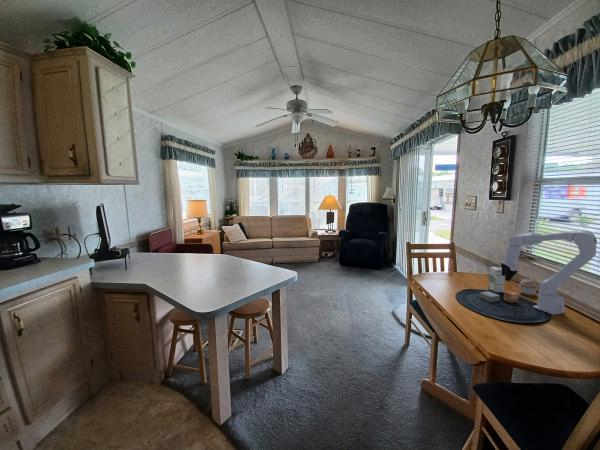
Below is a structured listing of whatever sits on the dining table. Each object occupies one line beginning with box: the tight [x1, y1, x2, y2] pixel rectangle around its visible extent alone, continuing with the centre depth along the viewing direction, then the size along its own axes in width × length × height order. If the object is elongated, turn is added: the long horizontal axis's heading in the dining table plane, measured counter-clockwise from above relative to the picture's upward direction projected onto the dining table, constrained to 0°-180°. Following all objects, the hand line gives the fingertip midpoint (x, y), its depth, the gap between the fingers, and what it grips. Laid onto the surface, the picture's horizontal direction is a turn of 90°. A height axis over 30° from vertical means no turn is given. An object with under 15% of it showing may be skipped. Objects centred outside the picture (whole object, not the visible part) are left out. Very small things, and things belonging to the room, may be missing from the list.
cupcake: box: [517, 277, 539, 296], centre depth 154 cm, size 9×9×10 cm
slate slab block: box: [479, 290, 501, 303], centre depth 147 cm, size 6×6×4 cm
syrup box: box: [488, 266, 506, 293], centre depth 159 cm, size 6×6×14 cm
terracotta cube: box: [503, 290, 519, 304], centre depth 145 cm, size 4×4×5 cm
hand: (505, 278), depth 147 cm, fingers open, 7 cm apart
